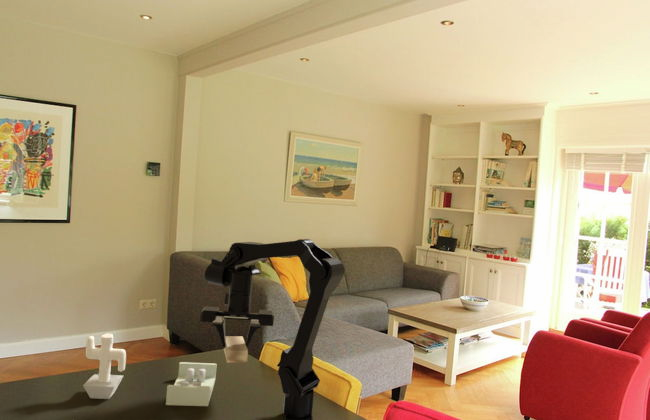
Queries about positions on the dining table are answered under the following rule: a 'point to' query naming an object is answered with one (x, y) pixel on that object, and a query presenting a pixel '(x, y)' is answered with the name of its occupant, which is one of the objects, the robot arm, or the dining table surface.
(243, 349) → the beige tapered block
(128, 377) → the dining table surface
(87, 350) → the figurine
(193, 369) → the pale green pegged panel
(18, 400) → the dining table surface
